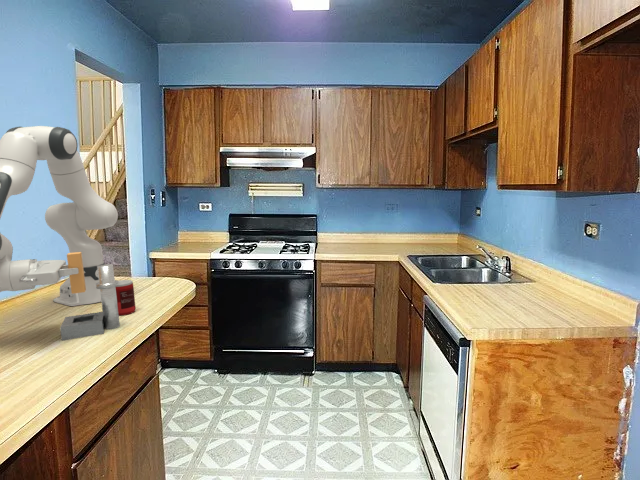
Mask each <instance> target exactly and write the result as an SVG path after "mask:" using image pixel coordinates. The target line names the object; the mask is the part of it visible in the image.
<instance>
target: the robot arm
mask: <svg viewBox="0 0 640 480" xmlns="http://www.w3.org/2000/svg"><path fill="white" fill-rule="evenodd" d="M37 161H46V164H47V167H48V171H49V174H50V176H51V180H52V182H53V186H54V189H55V191H56V192H57V193H58V194H59V195H60V196H62V197H64V198H67V199H69V200H70V201H72V202H61V203H56V204H53V205H50V206H48V207H47V209H46V211H45V214H44V220H45V224H47V226H48V227H49V228H50V229H51V230H53V231H54V232H56V233H58V234H59V235H60V236H61V237H62V238H63V240H64V242H65V243H66V245H67V248H68V250H69V253H74V252H81V253H82V261H83V269H84V277H85V285H86V291H85V292H82V293H74V294H72V292H71V284H70V277H67V276H69V275H73V274H78V273H79V268H77V267H76V268H70V269H68V264H67V262H66V260H64V259H44V260H43V259H41V260H38V259H37V258H34V259H32V258H31V259H30V258H29V259H28V258H27V259H20V260H12V259H13V250H14V247H13V243H12V242H11V241H10V239H9V238H8V237H6V236H5V235H3V234H2V233H1V232H0V293H2V292H18V291H19V292H20V291H26V290H27V291H28V290H34V289H35V288H36V286H47V285H53V284H58V282H59V281H60V280H61V278H62V277H63V278H65V277H67V279H66V280H65V281H64V282H63V283H62V284H61V285H60V286H59V296H58V297H55V298H54V299H53V302H55V303H57V304H60V305H61V304H62V305H63V306H64V305H65V306H69V307H76V306H81V305H89V304H96V303H100V302H101V294H100V289H97V288H96V283H98V282H99V277H98V269H97V266H100V265H105V264H106V263H105V261H104V253H103V246H102V245H101V243H100V242H99V241H98V240H96V239H94V238H91V237H90V236H88V234H87V232H86V231H91V230H92V231H95V230H103V229H108V228H111V227H114V226H115V225H116V223H117V221H118V218H119V214H118V212H119V211H118V210H117V208H116V206H115V205H114V204H113V203H112V202H109V201H107V200H106V199H104V198H103V197H102V196H100V195H99V194H98V193H97V192H96V191H95V190H94V188H93V187H92V185H91V183H90V181H89V179H88V175H87V171H86V170H85V166H84V162H83V160H82V158H81V156H80V153H79V151H78V140H77V137H76V136H75V135H74V133H73V132H72V131H71V130H70V129H68V128H65V127H61V126H55V127H54V126H49V125H48V126H46V125H35V126H25V127H24V126H15V127H12V128H9V129H8V130H6V132H5V133H4V134H3V135H2V137H0V219H1V218H2V215H3V212H4V209H5V206H6V204H7V202H8V200H9V199H10V197H11V196H16V195H21V194H23V193H25V192H27V191H28V190H29V187H30V186H31V184H32V183H33V179H34V177H35V171H36V168H37V164H38V163H37ZM101 303H102V302H101Z"/></svg>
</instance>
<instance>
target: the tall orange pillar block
mask: <svg viewBox="0 0 640 480" xmlns="http://www.w3.org/2000/svg"><path fill="white" fill-rule="evenodd" d="M66 259H67V265H68V269H70V268H76V267H77V268H79V273H78V274H73V275H69V277H70V284H71V292H72V294H74V293H82V292H85V291H86V285H85V277H84V269H83V261H82V253H81V252H74V253H70V252H68V253H66ZM69 277H68V278H69Z"/></svg>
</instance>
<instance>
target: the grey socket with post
mask: <svg viewBox="0 0 640 480" xmlns="http://www.w3.org/2000/svg"><path fill="white" fill-rule="evenodd" d="M97 269H98V277H99V282H98V283H96V288H97V289H100V294H101V310H102V311H97V312H90V313H84V314H77V315H70V316H65V317H64V319H63V322H62V324H61V325H60V327H59V328H60V329H59V330H60V337H61V341H68V340H72V339H80V338H85V337H92V336H98V335H102V334H103V335H104V334H105V330H114V329H118V328H119V327H120V326H121V324H120V323H121V322H120V316H119V314H118V305H117V296H116V286H118V285H119V283H118V281H119V280H117V279H115V272H114V264H111V263H107V264H106V263H105V265H100V266H97Z"/></svg>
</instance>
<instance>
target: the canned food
mask: <svg viewBox="0 0 640 480" xmlns="http://www.w3.org/2000/svg"><path fill="white" fill-rule="evenodd" d="M118 283H119V285H118V286H116V296H117V305H118V314H119V317H120V316H127V315H131V314H133V313H135V312H136V310H137V309H136V300H135V289H134V282H133V280H130V279H119V280H118Z"/></svg>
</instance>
